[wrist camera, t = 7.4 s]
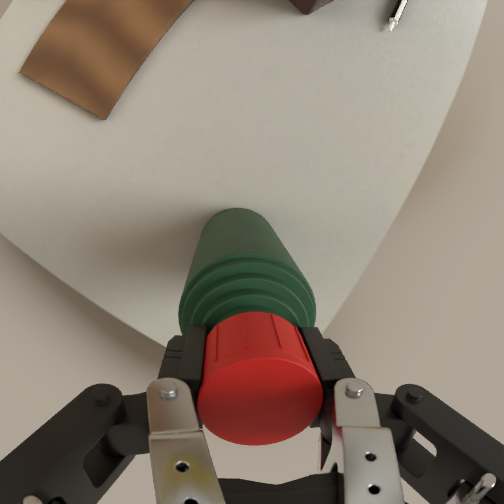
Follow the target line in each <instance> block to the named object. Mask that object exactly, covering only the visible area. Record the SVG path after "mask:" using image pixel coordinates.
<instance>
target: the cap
mask: <svg viewBox="0 0 504 504" xmlns="http://www.w3.org/2000/svg"><path fill="white" fill-rule="evenodd" d="M322 402H323V389H322V385H321V383H320V381H319V378H318V376H317V373H316V371H315V368H314V366H313V364H312V361H311V359H310V356H309V354H308V351H307V349H306V347H305V344H304V342H303V339H302V337H301V335H300V333H299V332H298V329H297V327H296V326H295V327H294V326H293V325H292V324H291V323H290V322H288V321H287V320H285V319H284V318H282V317H279V316H277V315H274V314H272V313H266V312H246V313H241V314H237V315H234V316H231V317H229V318H227V319H225V320H224V321H222V322H221V323H219V324H218V325H216V326H215V327H214V328H213V329H212V330H211V332H210V333H209V334H208V336H207V337H206V340H205V349H204V358H203V368H202V378H201V387H200V389H199V391H198V395H197V412H198V415H199V417H200V419H201V421H202V423H203V424H204V425H205V427H206V428H207V429H208V430H209V431H211V432H212V433H213V434H215V435H216V436H218V437H220V438H222V439H224V440H226V441H229V442H232V443H236V444H241V445H267V444H272V443H277V442H280V441H283V440H286V439H288V438H291V437H293V436H294V435H296V434H298V433H300V432H301V431H303V430H304V429H305V428H307V427H308V426H309V425H310V424H311V423H312V422H313V421H314V419H315V418H316V417H317V415H318V413H319V411H320V409H321V406H322Z"/></svg>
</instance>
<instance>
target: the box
mask: <svg viewBox="0 0 504 504" xmlns="http://www.w3.org/2000/svg"><path fill="white" fill-rule="evenodd" d="M290 1H291V2H292V3H293V4H294V5H295V6H296V7H297V8H299V9H300V11H301V12H303V13H304V14H305V15H308V14H310V13H312V12H314V11H315V10H317V9H319V8H320V7H322V6H324V5H326V4H328V3H330V2H331V1H333V0H290Z"/></svg>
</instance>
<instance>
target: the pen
mask: <svg viewBox="0 0 504 504" xmlns="http://www.w3.org/2000/svg"><path fill="white" fill-rule="evenodd" d="M407 1H408V0H398V2H397V4H396V6H395V8H394V11H393V13H392V15H391V17H390V19H389V22H390V25H389V28H388V31H389V32H391V31H392V29H393V26H394V25H397V24H398V22H399V19H400V17H401V15H402V13H403V10H404V8H405V6H406V3H407Z"/></svg>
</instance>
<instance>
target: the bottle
mask: <svg viewBox="0 0 504 504" xmlns="http://www.w3.org/2000/svg"><path fill="white" fill-rule="evenodd" d="M246 312H266V313H272V314H274V315H277V316H279V317H282V318H284V319H285V320H287V321H288V322H290V323H291V324H292V325H293V326H294V327H295V326H296V327H297V329H299V328H300V327H314V325H315V319H316V303H315V298H314V295H313V292H312V289H311V287H310V285H309V283H308V282H307V280H306V279H305V277H304V276H303V274H302V273H301V271H300V270H299V268H298V266H297V265H296V263H295V262H294V260H293V259H292V257H291V256H290V254H289V253H288V251H287V250H286V248H285V247H284V245H283V244H282V242H281V241H280V239H279V238H278V236H277V235H276V233H275V232H274V230H273V229H272V227H271V226H270V224H269V223H268V222H267V221H266V220H265V218H263V217H262V216H261V215H259V214H258V213H256V212H254V211H252V210H248V209H243V208H234V209H228V210H225V211H222V212H220V213H219V214H217V215H215V216H214V217H213V218H212V219H211V220H210V221H209V222H208V223H207V224H206V226H205V228H204V229H203V232H202V234H201V237H200V240H199V243H198V246H197V249H196V252H195V255H194V258H193V261H192V265H191V268H190V271H189V274H188V277H187V280H186V283H185V287H184V290H183V293H182V296H181V300H180V304H179V312H178V317H179V325H180V330H181V333H182V335H183V336H186V335H187V330H188V326H189V324H197V325H207V336H208V334H209V333H210V332H211V330H212V329H213V328H214V327H215V326H216V325H218V324H219V323H221V322H222V321H224V320H225V319H227V318H229V317H231V316H234V315H237V314H241V313H246Z"/></svg>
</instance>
